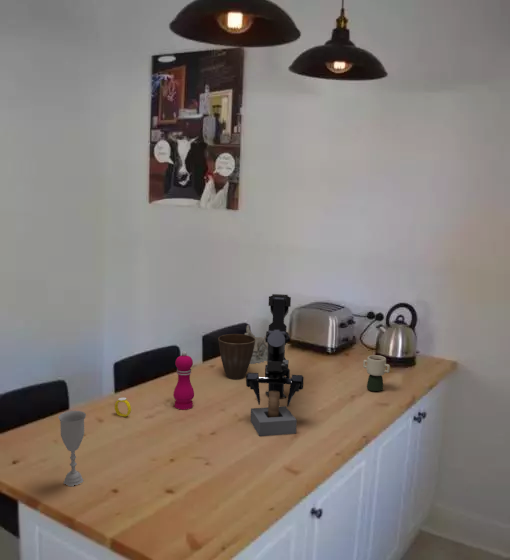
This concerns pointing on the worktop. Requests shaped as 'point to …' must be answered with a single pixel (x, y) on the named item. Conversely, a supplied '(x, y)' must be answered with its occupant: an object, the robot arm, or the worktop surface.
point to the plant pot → (236, 354)
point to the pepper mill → (183, 383)
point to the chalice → (72, 441)
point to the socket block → (273, 422)
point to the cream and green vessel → (376, 371)
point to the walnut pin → (273, 404)
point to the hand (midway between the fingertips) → (273, 405)
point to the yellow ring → (125, 403)
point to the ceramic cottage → (258, 348)
